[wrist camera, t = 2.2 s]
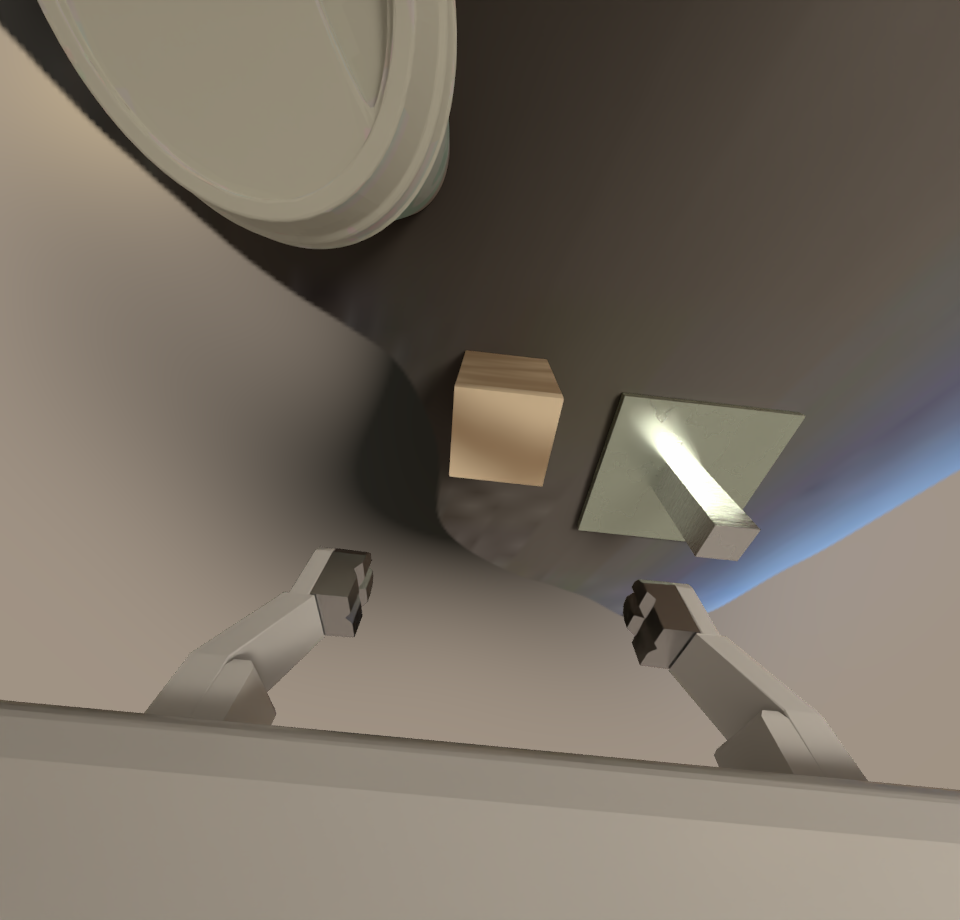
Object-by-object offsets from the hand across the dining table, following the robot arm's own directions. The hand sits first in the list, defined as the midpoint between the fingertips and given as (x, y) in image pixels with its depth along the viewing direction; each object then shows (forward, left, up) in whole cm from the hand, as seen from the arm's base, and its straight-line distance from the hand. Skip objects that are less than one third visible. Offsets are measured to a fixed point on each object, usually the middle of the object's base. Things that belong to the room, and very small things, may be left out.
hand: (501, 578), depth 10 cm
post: (+5, +14, -15) cm, 21 cm away
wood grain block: (0, 0, -15) cm, 15 cm away
